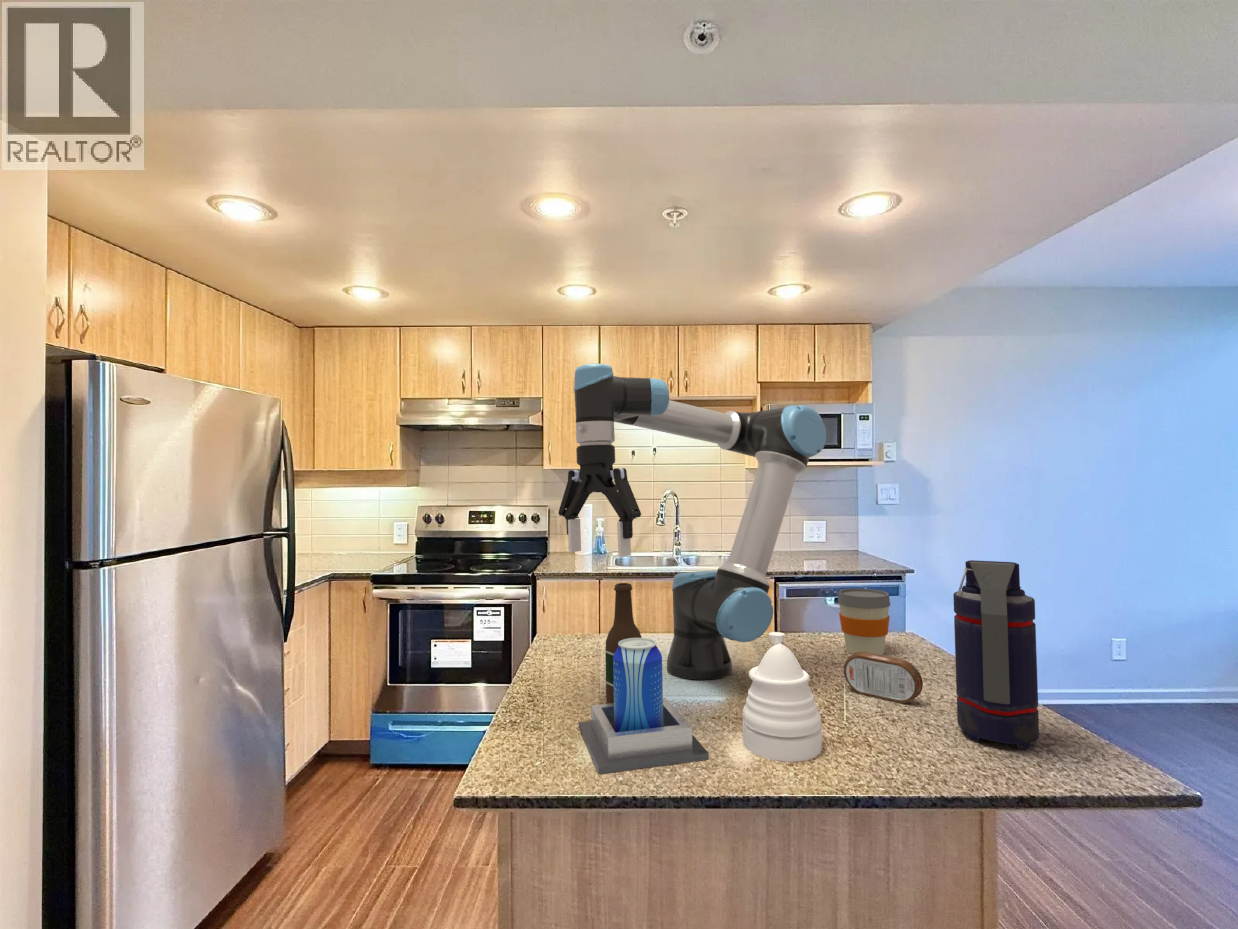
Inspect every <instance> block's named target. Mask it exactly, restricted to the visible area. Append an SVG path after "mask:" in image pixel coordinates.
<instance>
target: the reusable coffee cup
mask: <svg viewBox="0 0 1238 929" xmlns="http://www.w3.org/2000/svg"><path fill="white" fill-rule="evenodd" d="M837 595H838V596H837V604H839V606H838V607H839V611H840V612H839V613H838V615H839V623H840V627H841V628H840V629H841V631H842V633H843V637H844V644H845V650H846V652H848V653H849V654H852V655H853V654H854V653H857V652H868V653H873V654H878V655H884V654H885V647H886V646H885V644H886V638H887V636H888V635H889V626H890V625H889V624H890V615H889V611H890V610H889V609H890V607H891V599H890V595H889V593H888V592H887V591H883V590H880V589H872V588H845V589H840V590H839V591H838V594H837Z"/></svg>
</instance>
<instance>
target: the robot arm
mask: <svg viewBox="0 0 1238 929" xmlns="http://www.w3.org/2000/svg"><path fill="white" fill-rule="evenodd" d="M613 372H614V371H613V367H612V366H611V365H609V364H605V363H587V364H582V365H580V366H577V367H576V369H575V371H574V378H573V379H574V381H573V382H574V384H573V393H574V407H575V408H574V410H575V438H576V440H575V443H576V444H579V445H578V446H577V447H576V452H575V453H576V464H577V465H578V466H579V469H573V470H571V469H569V470H568V473H567V482H566V486H565V490H564V493H563V496H562V499H561V502H560V506H559V508H558V515H559V516H560V517H563V518H564V519H565V520H566V525H565V526H566V535H567V537H568V541H567V542H568V553H577V552H581V551H582V537H581V536H582V535H581V534H582V532H581V530H582V529H581V518H580V516H579V514H580V513H581V510H582V509H583V507H584V506H585V503H586V502H587V500H588V498H589V497H590V495H592V494H593V493H601V494H603V495H604V496H605V497H606V499H607V500H608V502H609V504H610V505H611V507H612V508H613V510H614V511H615V513H616V515H617V516H618V518H619V520H618V521H616V522H617V524H616V525H617V526H616V527H617V529H616V530H617V553H618V554H617V557H619V558H624V557H630V556H632V546H631V545H632V542H631V541H632V540H631V539H632V538H633V536H634V535H633V534H634V533H633V521H634V520H635V519H637V518H640V517H641V516H642V512H641V510H640V507H639V504H638V503H637V500H636V497H635V495H634V493H633V490H632V488H631V485H630V483H629V480H628V471H627V469H626V468H624V467H619V468H615V467H613V466H614V464H615V463H616V447H615V445H613V443H614V442H615V441H616V439H615V438H616V436H615V423H617V424H623V425H627V426H628V425H629V426H633V427H638V428H641V429H642V428H643V429H647V430H652V431H657V432H661V433H666V434H671V435H676V436H680V437H685V438H690V439H694V440H698V441H702V442H707V443H708V442H709V443H713V444H716V445H717V446H718V447H719V448H720V449H722V450H725V451H728V452H729V451H730V452H735V453H736V454H737V453H738V454H741V455H746V456H747V457H748V456H749V457H754V458H755V459H756V461H757V463H758V466H757V470H756V472H755V476H754V479H753V483H752V486H751V489H750V491H749V495H748V496H747V501H746V504H745V508H744V509H743V510H744V511H743V513H742V516H741V520H740V522H739V526H738V528H737V532H736V535H735V537H734V541H733V544H732V547H731V549H730V553H729V557H728V559H727V562H726V563H725V564H723V565H721V566H719V567H718V568H717V570H700V571H698V570H697V571H688V572H678V573H676V574H675V575H674V577H673V579H672V589H671V591H672V607H673V608H672V614H673V616H672V617H673V619H672V620H673V638H672V642H671V645H670V648H669V651H668V656H667V658H666V669H667V672H668V673H669V674H671V675H673V676H675V677H678V678H681V679H687V680H697V681H698V680H702V681H703V680H716V679H721V678H724V677H727V676H728V675H729V676H730V674H731V673H732V671H733V670H732V669H733V664H732V663H733V662H732V658H731V655H730V652H729V650H728V646H727V644H726V641H725V639H726V640H730V641H736V642H739V643H749V642H754V641H755V640H757V639H759V638H760V637H762V636H763V635H764V634H765V633H766V631H767V630H768V629H769V627H770V625H771V622H772V620H773V616H774V606H773V605H772V603H773V601H772V599H771V596H769V591H770V586H771V585H770V583H769V581H768V579H767V577H766V576H767V572H768V569H769V565H770V562H771V559H772V556H773V553H774V550H775V546H776V542H777V540H778V536H779V533H780V530H781V527H782V523H783V520H784V518H785V514H786V511H787V509H788V508H787V507H788V504H789V500H790V498H791V494H792V492H793V487H794V485H795V481H796V479H797V476H798V475H800V474H801V473H803V472H805V471H806V470H807V466H808V463H809V460H810V458H811V457H814V456H817V454H820V453H821V452H822V451H823V449H824V447H825V445H826V441H827V429H826V426H825V423H824V422H823V418H822V417H821V415H820V414H819V413H818V412H817V411H816V410H815V409H814V408H813V407H811V406H809V405H805V404H798V405H794V404H793V405H792V404H791V405H786V406H785V407H778V408H772V409H767V410H766V409H765V410H759V411H751V412H740V411H739V412H737V411H734V410H728V411H726V412H721V411H716V410H713V409H708V408H705V407H704V408H703V407H699V406H695V405H691V404H687V403H684V402H683V403H682V402H678V401H675V400H670V389H669V387H668V384H667V383H666V381H664V380H663V379H660V378H658V379H657V378H652V377H623V376H617V375H614V374H615V373H613Z"/></svg>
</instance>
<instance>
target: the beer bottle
mask: <svg viewBox="0 0 1238 929" xmlns="http://www.w3.org/2000/svg"><path fill="white" fill-rule="evenodd" d="M632 590H633V587H632V583H628V582H618V583H616V584H615V585H614V590H613V591H615V600H614V618H613V625H612V626H611V628H610V630H609V632H608V634H607V637H606V640H605V649H604V650H605V651H604V652H605V658H604V659H605V660H604V661H605V700H606V704H610V703H614V677H613V656H614V653H615V652H616V650H617V648H618V646H619V645H618V643H619V641H621V640H624V639H628V638H643V637H642V635H641V631H640V630H639V628H638V627H637V625H636V624H635V621H634V620H635V619H634V615H633V614H634V613H633V602H632Z"/></svg>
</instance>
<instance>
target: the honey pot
mask: <svg viewBox="0 0 1238 929" xmlns="http://www.w3.org/2000/svg"><path fill="white" fill-rule="evenodd" d="M768 638H769V640H770V642H771V643H772V644H773V646H770V648H769V649H768V650H767V651H766V652H765V654H764V655H763V657H762V658H761V661H760V662H759V665H757V666H755V667H752V668H750V670H749V671H748V677H749V679H751V681H752V682H751V685H750V688H748V691H747V693H748V695H747V697H746V699H745V701H746V702H745V704H744V706H743V708H742V741H743V742H742V743H743V745H744V747H745V748H746V749H747V750H748V751H750V753H752V754H754V755H756V756H759V757H760V756H762V757H761V758H764V757H765V758H764V759H767V758H768V760H771V759H772V761H777V760H779V761H778V762H789V763H792V762H793V763H794V762H804V761H808V760H813V759H814V758H817V757H819V755H820V754H822V750H823V743H822V742H823V741H822V740H823V739H822V738H823V737H822V734H823V732H822V717H821V713H820V711H819V710H818V709H817V707H818V706H817V703H816V701H815V696H814V693H813V692H812V689H811V688H810V685H809V683H808V682H809V681H810V674H809V673H808V672H807V671H805V670H804V669H803V668H802V667H801V665H800V663H799V661H798V658H797V657H796V656H795V655H794V653H793V652H792V650H790V648H788V647H787V646H785V645H784V644H782V643H783V642H784V639H785V633H783V632H779V631H772V632H769V633H768Z"/></svg>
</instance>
